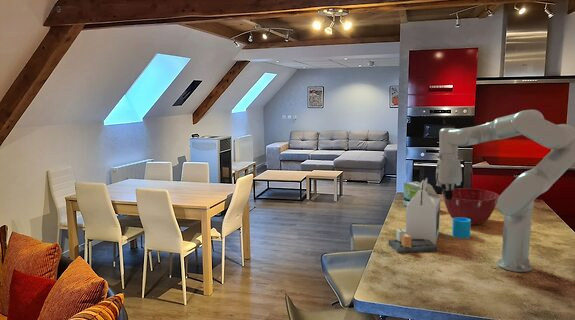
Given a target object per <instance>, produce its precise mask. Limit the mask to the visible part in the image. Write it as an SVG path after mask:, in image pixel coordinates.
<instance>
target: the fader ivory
mask: <svg viewBox="0 0 575 320" xmlns="http://www.w3.org/2000/svg"><path fill="white" fill-rule="evenodd" d="M395 231H396V232H395V233H396V235H395V236H396V237H395V240H398V241H399V242H401V239H402V235H404V234H406V230H405V229H402V228H397V229H396V230H395Z"/></svg>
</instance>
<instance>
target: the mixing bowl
mask: <svg viewBox="0 0 575 320" xmlns="http://www.w3.org/2000/svg"><path fill="white" fill-rule="evenodd" d="M441 194H442V197H443V201H444V205H445V207H446V210H447V212H448V214H449V216H450V217H451V218H452V219H453V218H456V217H463V218H468V219H470V220H471V226H475V225H476V226H477V225H482V223H485V222H486V221H488V220H489V218H490V217H491V215H492V214H493V212H494V210H495V208H496V207H497V200H498V197H499V196H500V195H499V194H498V193H496V192H495V191H494V192H493V191H491V190H490V191H489V190H485V189H479V188H469V187H468V188H463V187H462V188H461V187H460V188H459V187H458V188H454V190H453V195H452V200H450V199H449V200H447V199H445V197H444V190H442V192H441Z"/></svg>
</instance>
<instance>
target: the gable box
mask: <svg viewBox="0 0 575 320" xmlns="http://www.w3.org/2000/svg"><path fill="white" fill-rule="evenodd" d="M432 186H433V185H431V184H430V183H428V177H426V178H425V179H422V180H421V182H420V184H419V188H420V189H419V190H418V191H417V193H416V194H415V196H413V198H412V199H411V201H410V202H409V203H408V205H407V206H405V207H406V209H405V210H406V211H405V213H406V214H405V231H406V234H408V235H410V236H411V237H412V239H425V240H430V241H431V242H432V243H434V244H435V245H436V243H437V240H438V237H439V234H440V224H441V223H440V222H441V221H440V219H441V198H440V196H439V195H438V194H437V192H436V190H435V188H434V187H432ZM427 189H428V194H427Z"/></svg>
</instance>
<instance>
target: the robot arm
mask: <svg viewBox="0 0 575 320" xmlns="http://www.w3.org/2000/svg"><path fill="white" fill-rule="evenodd" d="M438 135H439V141H438V143H439V146H438V147H439V149H438V150H439V151H438V154H437V155H436V159H438V160H437V163H436V169H435V181H436V184H435V186H436V187H440V188H442V190H443V191H444V197H445V199H447V200H449V199H450V200H452V195H453V190H454V189H456V187H458V186H461V183H462V182H463V171H462V165H461V160H460V159H459V158H458V157H459V156H458V155H459V147H468V146H473V145H474V146H475V145H479V144H483V143H487V142H491V141H495V140H497V141H498V140H504V139H509V138H513V137H517V136H524V137H525V138H527V139H529V140H531V141H533V142H535V143H537V144H539V145H541V146H542V147H545V148H547V149H550V151H549V152H548V153H547V154H546V155H545V156H544V157H543V158H542V160H541V161H539V162H538V163H537V164H536V165H535V166H534V167H533V168H531V169H529V170H526V171H524V172H521V174H520V175H518V176H517V177H516V178H515V179H514V180H513V181H512V182H511V183H510V184H509V185H508V186H507V187H506V188H505V189H504V190H503V192H501V194H500V195H499V197H498V200H497V203H496V208H497V209H498V211H499V213H500V214H502V215H503V216H504V217H503V219H504V220H503V229H502V251H501V258H500V259H498V260H497V261H496V262H497V263H496V264H497V266H498V267H499V268H501V269H504V270H506V271H511V272H515V273H516V272H517V273H526V272H530V271H533V265H532V264H531V262H530V258H529V257H530V243H531V242H530V241H531V229H532V228H531V227H532V219H533V211H534V207H535V200H536V199H537V198H538V197H539V196H541V195H542V194H545V193H546V192H547V191H549V189H550V188H551V187H552V186H553V184H555V183H556V182H557V181H558V180H559V178H561V176H563V175H564V173H565V172H567V170H568V169H569V168H570V167H571V166H572V165H573V164H574V163H575V127H574V126H572V125H571V124H566V123H560V124H559V123H558V124H555V123H554V122H551V121H549V120H547V119H545V117H544V115H543V114H542V112H540V111H539V110H537V109H526V110H521V111H519V112H517V113H512V114H509V115H504V116H500V117H497V118H495V119H494V120H493V121H490V122H486V123H484V124H479V125H475V126H469V127H463V128H455V127H454V128H453V127H447V128H446V127H443V128H441V129H439V134H438Z"/></svg>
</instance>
